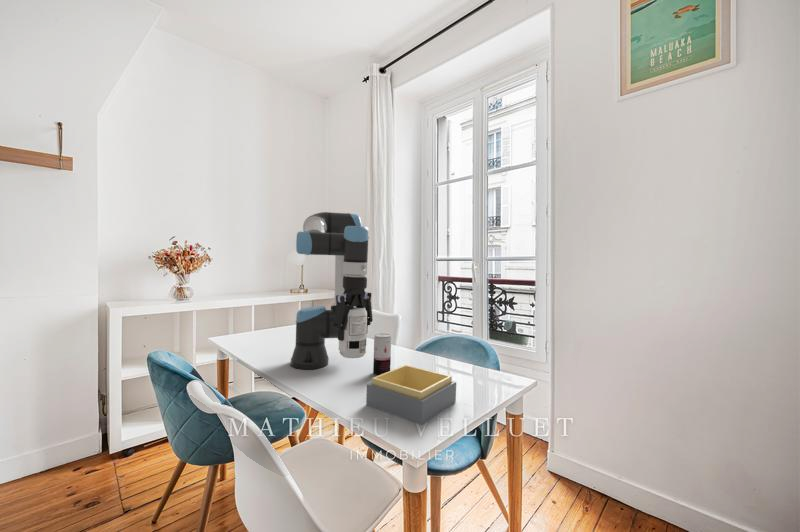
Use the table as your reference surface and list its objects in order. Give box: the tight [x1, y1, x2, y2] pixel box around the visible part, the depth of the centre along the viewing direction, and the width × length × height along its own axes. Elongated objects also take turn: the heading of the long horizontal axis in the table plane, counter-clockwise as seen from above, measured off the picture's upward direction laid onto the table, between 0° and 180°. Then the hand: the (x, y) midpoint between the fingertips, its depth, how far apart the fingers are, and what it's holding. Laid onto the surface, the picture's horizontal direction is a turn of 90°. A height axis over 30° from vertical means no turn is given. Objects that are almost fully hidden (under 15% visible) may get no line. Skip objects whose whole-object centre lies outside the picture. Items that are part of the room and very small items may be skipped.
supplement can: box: [339, 306, 368, 359], centre depth 112 cm, size 8×8×15 cm
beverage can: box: [372, 332, 392, 377], centre depth 137 cm, size 6×7×15 cm
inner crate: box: [371, 364, 453, 400], centre depth 108 cm, size 17×17×8 cm
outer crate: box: [365, 380, 457, 425], centre depth 108 cm, size 20×20×7 cm
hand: (352, 347), depth 112 cm, fingers closed on supplement can, 8 cm apart
